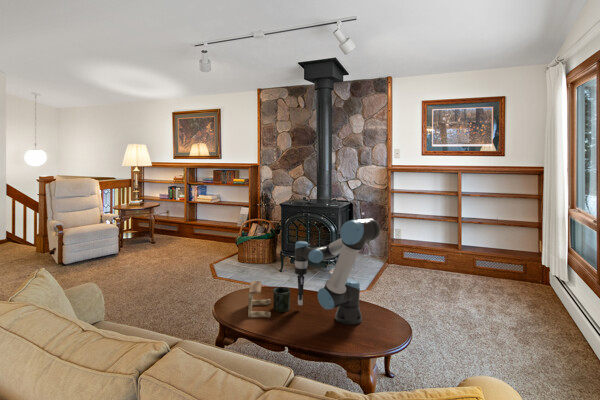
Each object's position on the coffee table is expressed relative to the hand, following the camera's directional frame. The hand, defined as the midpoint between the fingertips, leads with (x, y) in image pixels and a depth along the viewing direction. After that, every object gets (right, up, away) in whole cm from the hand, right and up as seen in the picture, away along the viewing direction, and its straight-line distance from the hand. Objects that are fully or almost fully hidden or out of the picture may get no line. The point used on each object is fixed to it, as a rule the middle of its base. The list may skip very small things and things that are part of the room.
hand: (300, 304), depth 219 cm
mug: (-12, -3, -1) cm, 12 cm away
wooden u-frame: (-25, -3, -2) cm, 26 cm away
